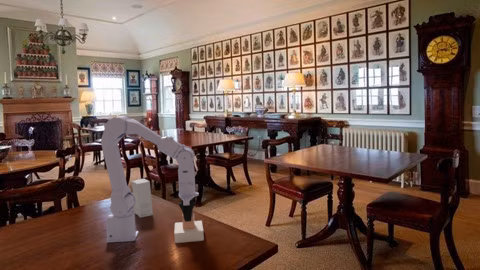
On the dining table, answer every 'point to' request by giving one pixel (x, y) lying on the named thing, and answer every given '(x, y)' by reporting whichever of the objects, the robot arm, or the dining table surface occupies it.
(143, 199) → the skincare box
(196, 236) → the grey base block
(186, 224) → the terracotta block
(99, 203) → the dining table surface
